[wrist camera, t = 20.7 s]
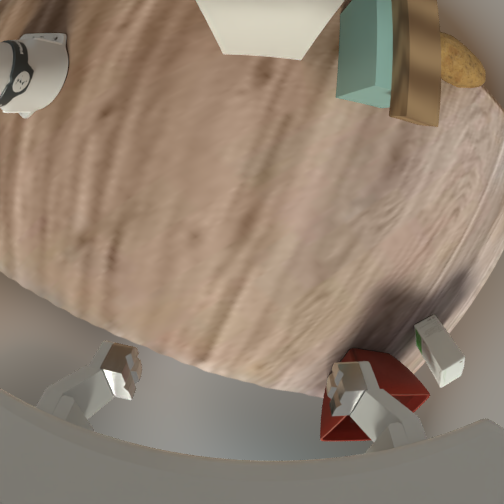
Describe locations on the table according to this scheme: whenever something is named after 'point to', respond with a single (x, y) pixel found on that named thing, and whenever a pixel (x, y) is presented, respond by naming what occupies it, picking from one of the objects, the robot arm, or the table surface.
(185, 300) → the table surface
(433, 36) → the rail
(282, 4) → the stand
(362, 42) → the teal box
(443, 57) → the potato
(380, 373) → the plant pot
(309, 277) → the table surface
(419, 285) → the table surface
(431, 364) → the skincare box
